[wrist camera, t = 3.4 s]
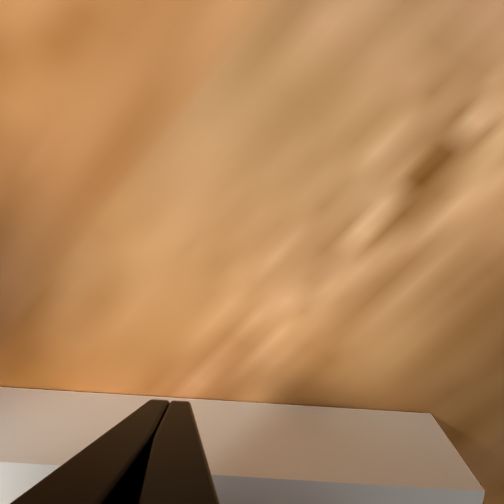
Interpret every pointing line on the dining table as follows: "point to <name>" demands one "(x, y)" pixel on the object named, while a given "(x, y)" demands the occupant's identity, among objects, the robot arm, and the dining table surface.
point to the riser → (252, 448)
